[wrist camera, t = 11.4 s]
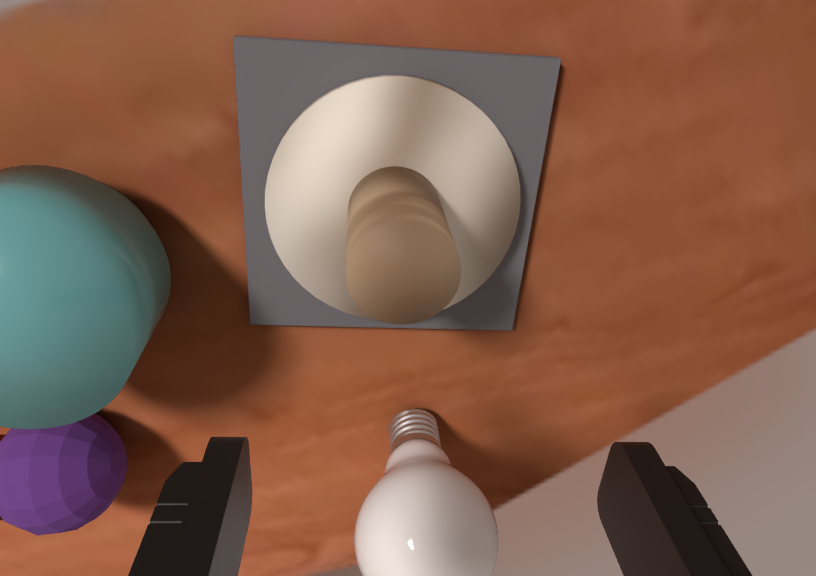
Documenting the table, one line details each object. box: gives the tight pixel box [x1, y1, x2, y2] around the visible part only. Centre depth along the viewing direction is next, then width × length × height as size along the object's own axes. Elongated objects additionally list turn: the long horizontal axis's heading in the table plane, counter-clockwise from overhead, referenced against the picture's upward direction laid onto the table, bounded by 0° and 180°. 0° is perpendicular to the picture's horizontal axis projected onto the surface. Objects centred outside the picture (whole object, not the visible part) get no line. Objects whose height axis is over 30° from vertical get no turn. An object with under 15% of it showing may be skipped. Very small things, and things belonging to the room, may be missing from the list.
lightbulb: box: [354, 409, 498, 576], centre depth 29 cm, size 6×6×11 cm
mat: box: [233, 35, 561, 330], centre depth 27 cm, size 13×13×1 cm
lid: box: [265, 74, 521, 324], centre depth 24 cm, size 11×11×7 cm
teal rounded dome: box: [0, 165, 171, 429], centre depth 25 cm, size 9×9×7 cm
